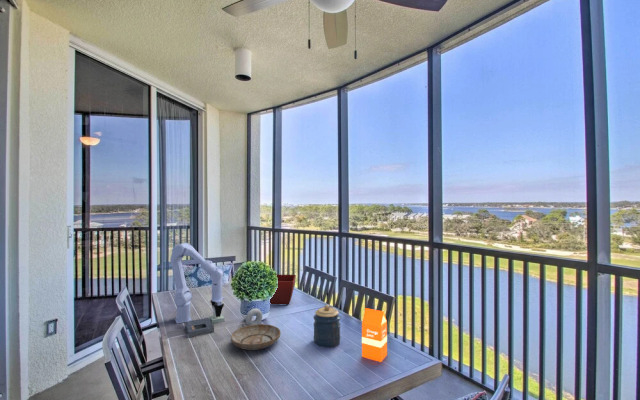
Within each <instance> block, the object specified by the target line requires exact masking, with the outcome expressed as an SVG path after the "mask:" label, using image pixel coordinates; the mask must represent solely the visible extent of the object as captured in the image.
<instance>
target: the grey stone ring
mask: <svg viewBox="0 0 640 400" xmlns="http://www.w3.org/2000/svg"><path fill="white" fill-rule="evenodd" d="M254 316H255V319H254V320H253V318H254ZM262 320H263V312H262V311H261V310H260V308H251V309H250V310H249V311H248V312H247V314H246V316H245V324H246V326H250V325H258V324H261V322H262Z"/></svg>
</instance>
